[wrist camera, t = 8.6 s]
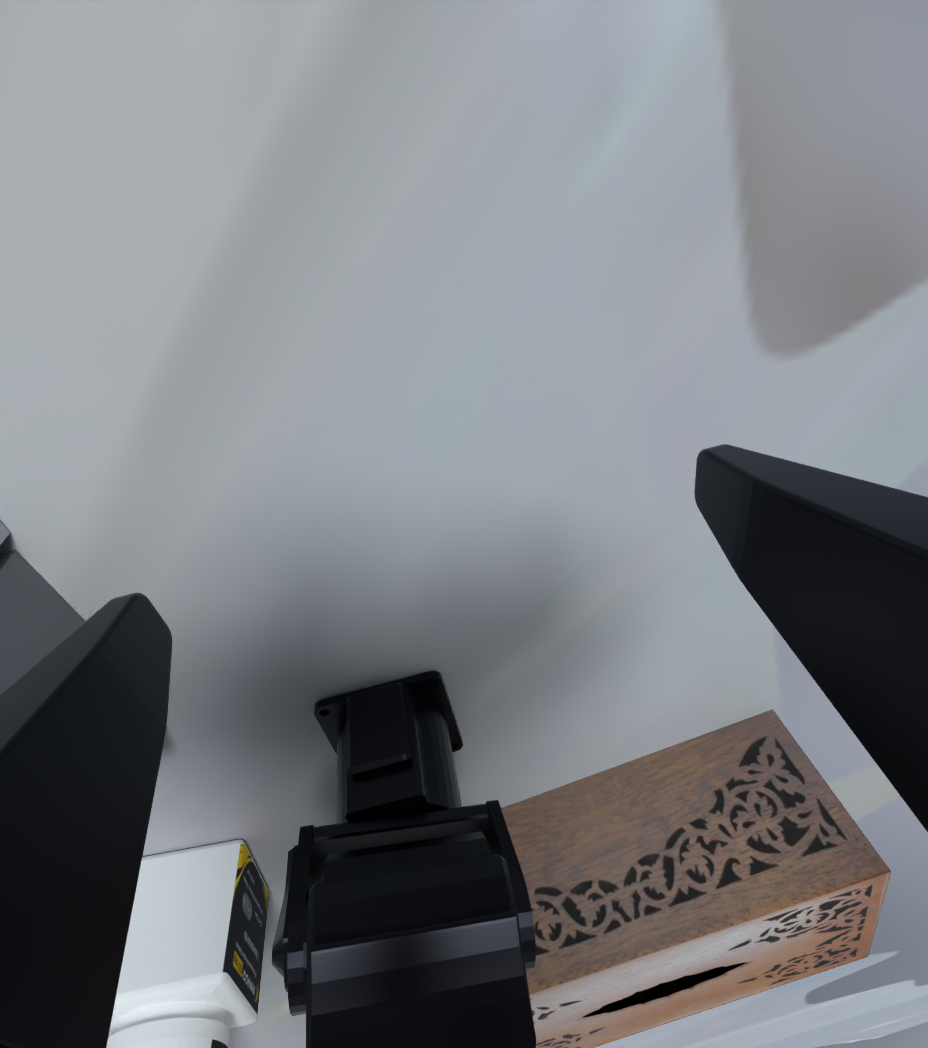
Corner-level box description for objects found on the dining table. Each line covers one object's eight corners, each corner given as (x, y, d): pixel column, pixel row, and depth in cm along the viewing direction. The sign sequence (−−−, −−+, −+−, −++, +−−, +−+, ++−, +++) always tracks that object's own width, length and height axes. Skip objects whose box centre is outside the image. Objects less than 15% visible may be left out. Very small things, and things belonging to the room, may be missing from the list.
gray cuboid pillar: (145, 678, 26) (108, 780, 22) (41, 711, 26) (-13, 819, 22) (17, 547, 21) (-59, 647, 17) (-108, 589, 21) (-213, 698, 17)
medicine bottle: (270, 889, 38) (246, 1147, 29) (158, 911, 38) (94, 1185, 28) (244, 835, 34) (205, 1116, 25) (117, 858, 33) (26, 1159, 24)
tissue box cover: (770, 706, 37) (891, 871, 29) (774, 807, 45) (868, 956, 37) (399, 841, 38) (414, 1033, 30) (470, 914, 47) (496, 1079, 39)
